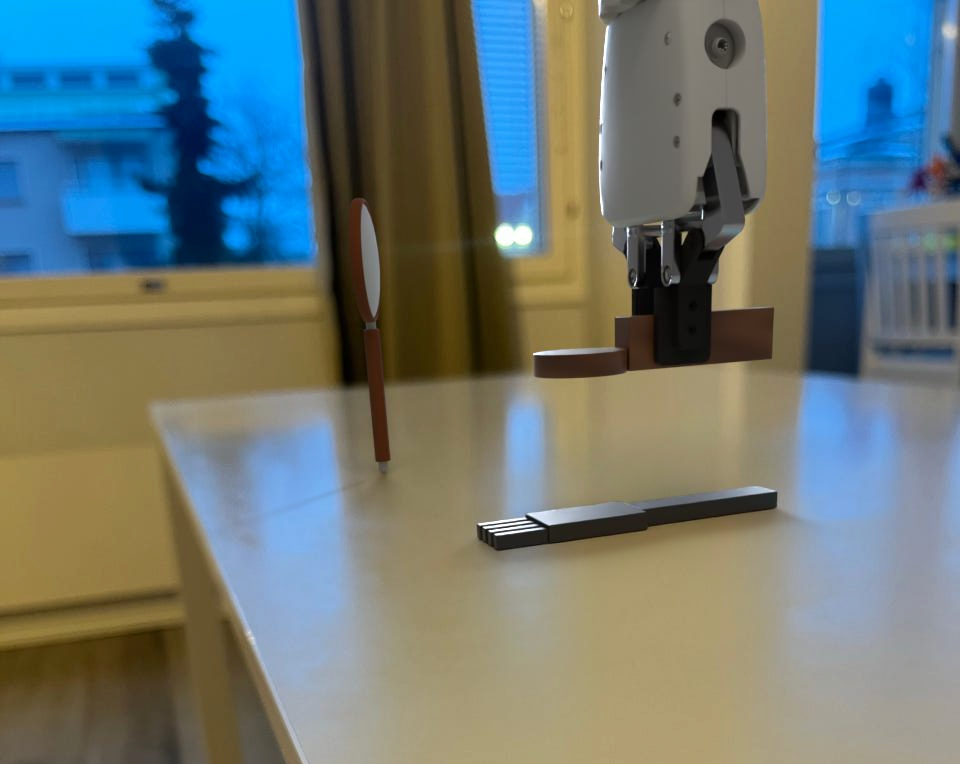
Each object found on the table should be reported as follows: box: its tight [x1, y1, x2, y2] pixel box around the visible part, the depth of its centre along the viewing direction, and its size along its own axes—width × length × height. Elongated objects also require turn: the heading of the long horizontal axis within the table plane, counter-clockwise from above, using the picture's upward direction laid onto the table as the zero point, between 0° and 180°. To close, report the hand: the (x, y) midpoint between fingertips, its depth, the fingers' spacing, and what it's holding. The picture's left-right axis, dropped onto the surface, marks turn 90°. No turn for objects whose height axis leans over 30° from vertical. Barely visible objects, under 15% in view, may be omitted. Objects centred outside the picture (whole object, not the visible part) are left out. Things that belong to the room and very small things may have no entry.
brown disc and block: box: [532, 306, 775, 380], centre depth 54 cm, size 14×5×3 cm, turn 109°
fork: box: [476, 485, 778, 551], centre depth 57 cm, size 18×4×1 cm, turn 109°
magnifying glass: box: [348, 197, 391, 475], centre depth 75 cm, size 9×2×20 cm, turn 177°
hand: (670, 360), depth 55 cm, fingers closed on brown disc and block
